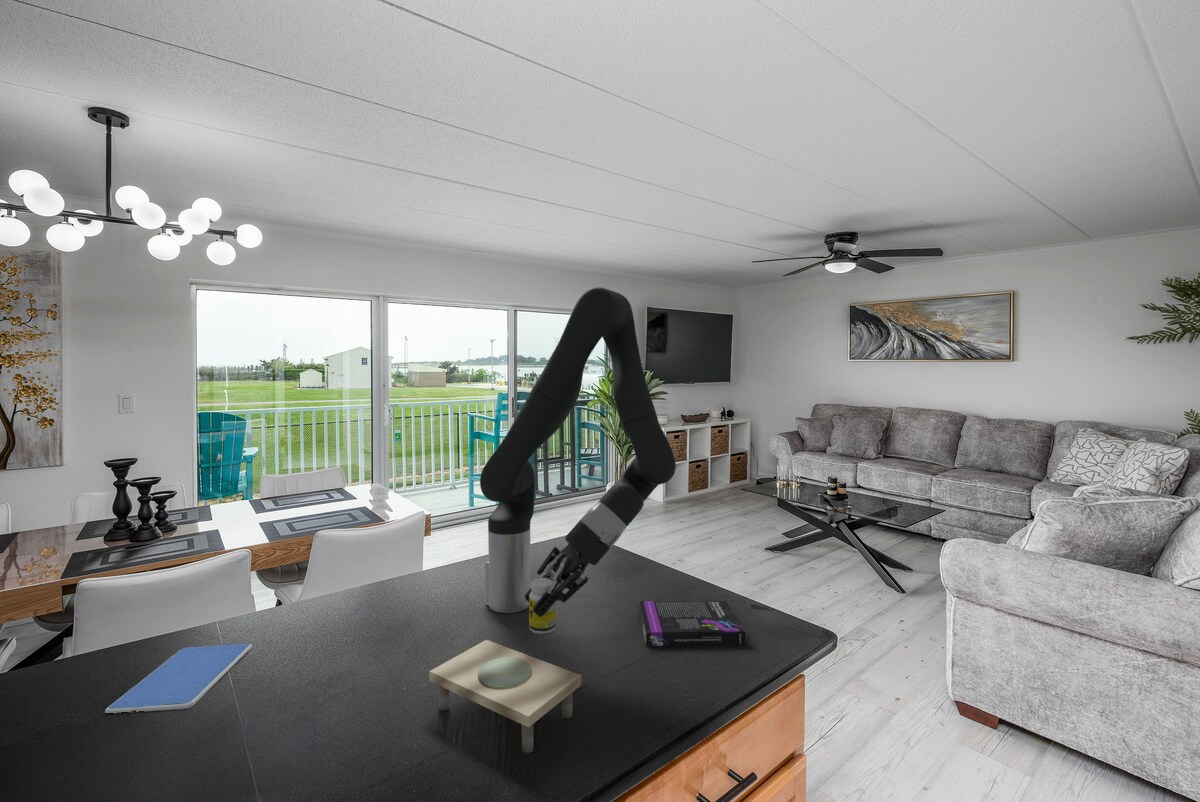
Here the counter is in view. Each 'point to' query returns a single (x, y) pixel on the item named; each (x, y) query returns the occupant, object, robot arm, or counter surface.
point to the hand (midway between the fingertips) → (532, 606)
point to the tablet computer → (181, 679)
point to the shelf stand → (507, 685)
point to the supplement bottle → (549, 618)
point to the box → (690, 623)
